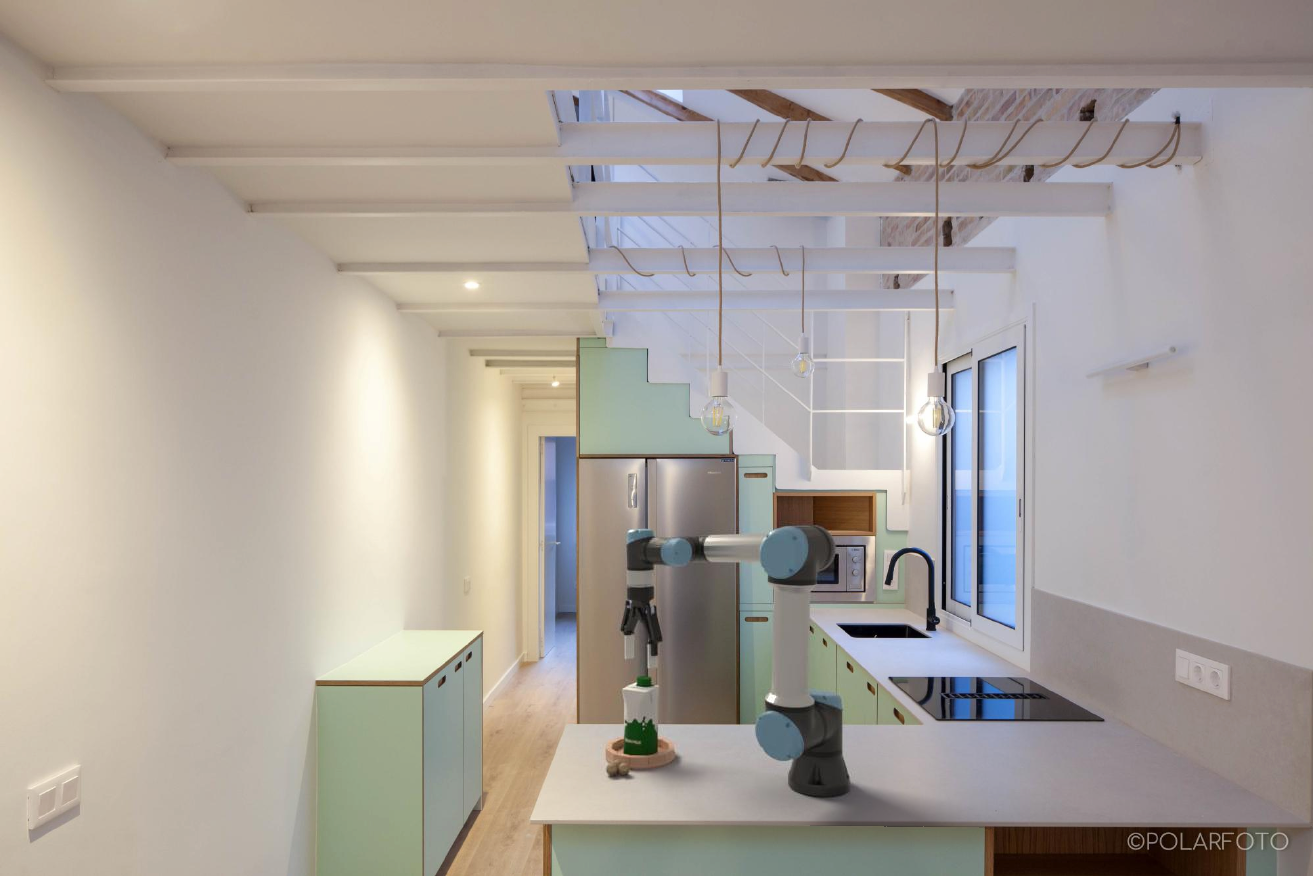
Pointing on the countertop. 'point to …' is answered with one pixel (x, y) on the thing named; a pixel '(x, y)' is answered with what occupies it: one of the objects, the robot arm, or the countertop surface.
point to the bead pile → (617, 768)
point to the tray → (641, 762)
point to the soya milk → (641, 717)
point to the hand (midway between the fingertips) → (640, 663)
